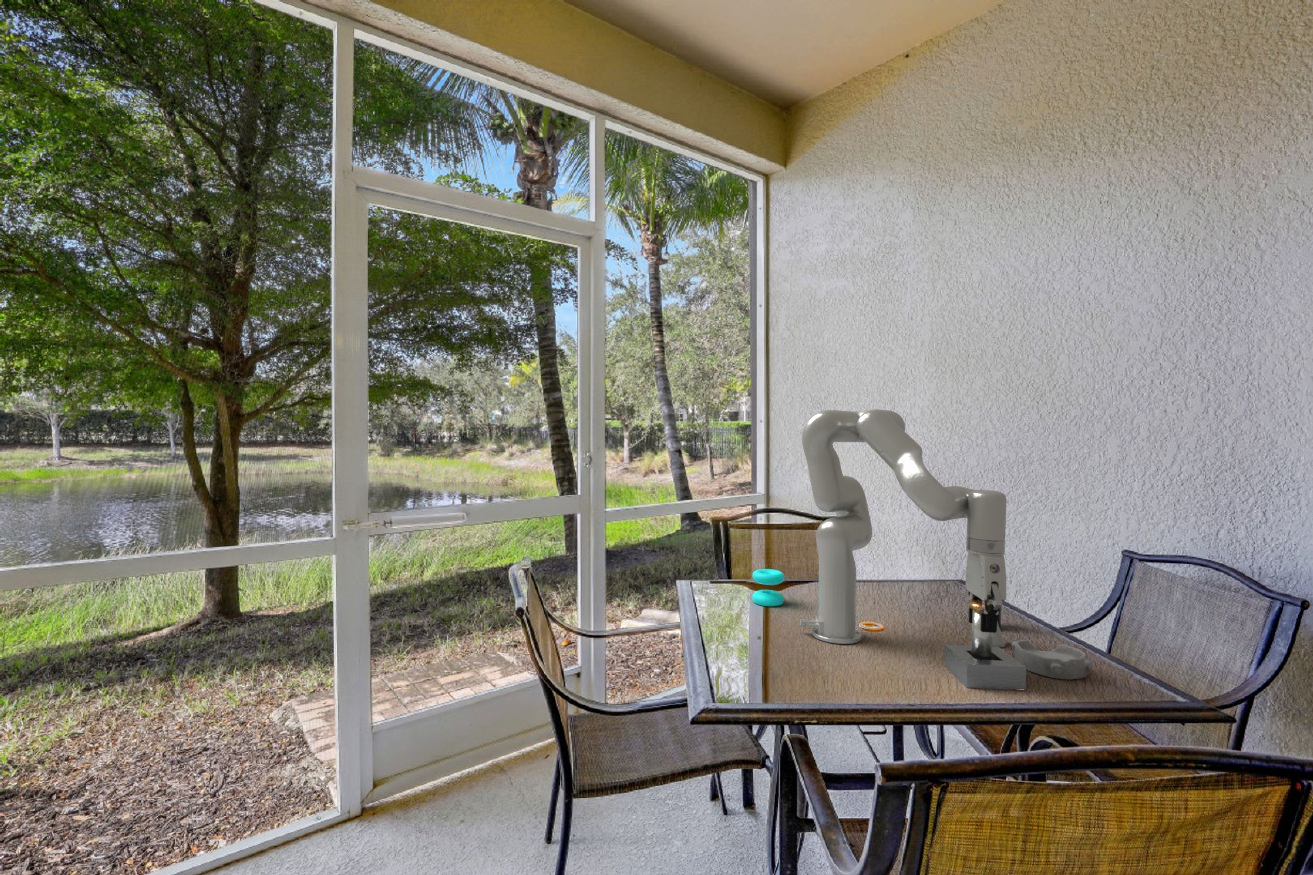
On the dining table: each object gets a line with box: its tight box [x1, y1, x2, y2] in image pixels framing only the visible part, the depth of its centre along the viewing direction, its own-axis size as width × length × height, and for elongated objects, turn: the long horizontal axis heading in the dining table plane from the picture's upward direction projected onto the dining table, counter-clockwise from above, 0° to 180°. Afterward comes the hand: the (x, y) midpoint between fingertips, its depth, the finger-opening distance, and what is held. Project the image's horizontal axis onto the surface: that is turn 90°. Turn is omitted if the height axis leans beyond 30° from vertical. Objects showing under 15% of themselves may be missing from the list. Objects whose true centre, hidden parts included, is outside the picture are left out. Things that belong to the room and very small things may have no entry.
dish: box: [1011, 639, 1093, 680], centre depth 140 cm, size 14×14×5 cm
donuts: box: [751, 568, 785, 607], centre depth 192 cm, size 10×10×10 cm
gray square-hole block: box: [944, 644, 1027, 691], centre depth 135 cm, size 12×12×5 cm
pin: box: [968, 600, 992, 657], centre depth 135 cm, size 5×5×11 cm
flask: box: [992, 622, 1006, 648], centre depth 157 cm, size 7×7×10 cm
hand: (982, 626), depth 135 cm, fingers closed on pin, 5 cm apart
